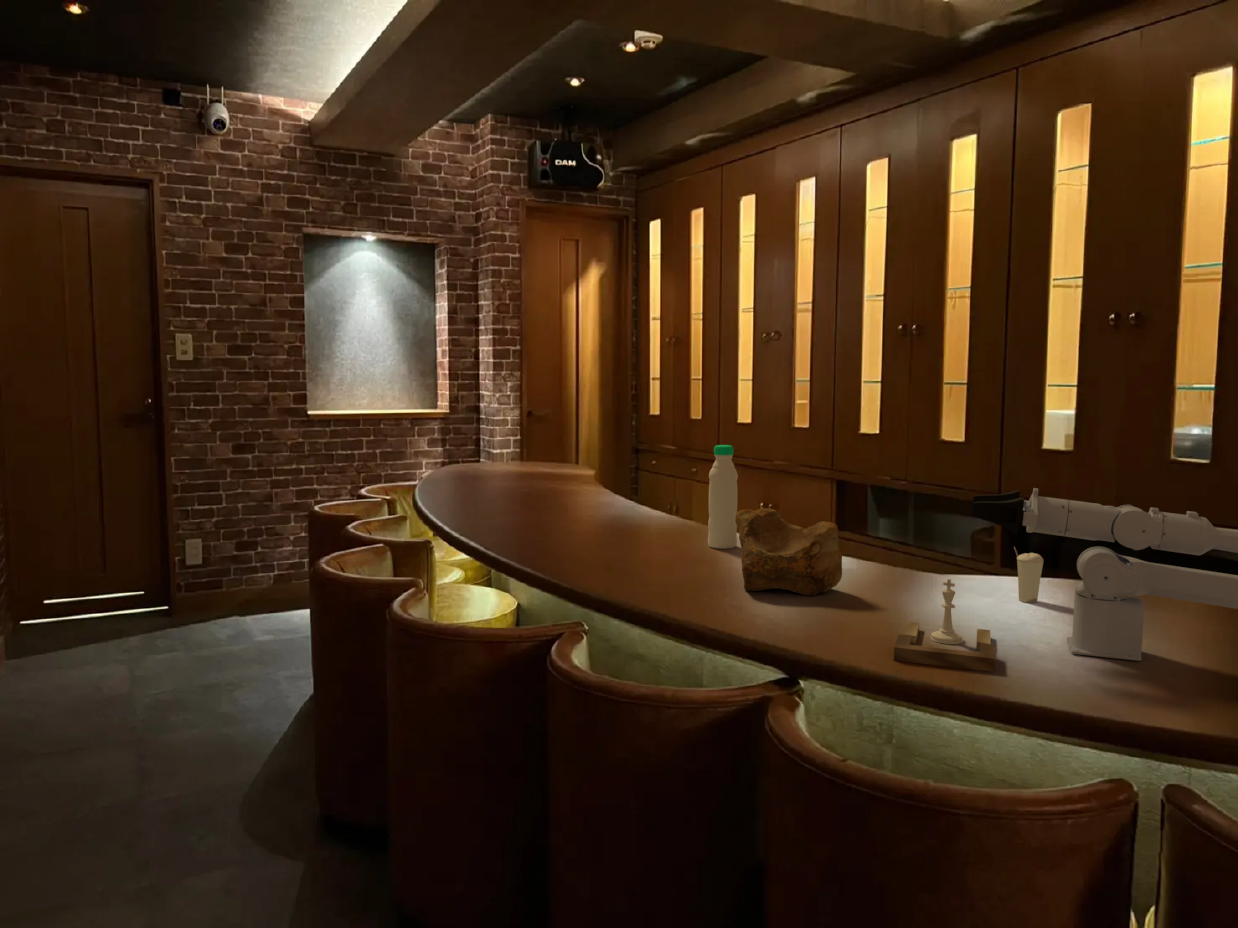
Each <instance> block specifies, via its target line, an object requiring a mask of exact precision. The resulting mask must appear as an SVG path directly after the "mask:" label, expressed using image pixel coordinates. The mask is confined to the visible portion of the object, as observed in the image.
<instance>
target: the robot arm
mask: <svg viewBox="0 0 1238 928" xmlns="http://www.w3.org/2000/svg"><path fill="white" fill-rule="evenodd" d="M1020 495H1021V491H1020V490H1019V489H1017V490H1013V491H1010V492H1006V493H999V494H998V493H997V494H978V495H973V498H972V504H971V515H970V516H972V517H974V518H977V519H979V520H983V521H986V522H989V523H993V524H995V525H998V526H1000V527H1002V528H1005V529H1006V530H1007V531H1009V532H1011V533H1012V534H1014V535H1018V533H1019V527H1020V525H1022V526H1023V527H1026V528H1025V529H1026V530H1025V531H1026V532H1027V533H1030V534H1032V533H1037V534H1045V535H1051V536H1058V537H1060V536H1061V537H1067V538H1073V539H1074V538H1075V539H1081V540H1087V541H1088V540H1089V541H1103V542H1104V541H1105V542H1110V543H1116V541H1117V542H1118V543H1119V544H1120V545H1121V546H1123V547H1126V548H1130V549H1132V550H1133V551H1139V550H1144V549H1146V548H1149V547H1150V548H1151V549H1152V550H1159V551H1165V552H1172V553H1173V552H1174V553H1179V554H1186V555H1187V554H1188V555H1194V556H1202V555H1204V554H1205V553H1207V552H1209V551H1211V550H1219V551H1224V552H1230V553H1236V554H1238V529H1235V528H1234V529H1233V528H1225V527H1224V528H1223V527H1215V526H1214V525H1213V524H1212V522H1210V521H1209V519H1208V518H1206V517H1204V516H1199V513H1197V511H1189V510H1187V511H1186V513H1185V514H1181V513H1175V512H1172V513H1171V512H1165V511H1160V509H1159V508H1158V507H1152V506H1151V507H1149V511H1148V512H1147V511H1144V510H1143V509H1141V508H1139V507H1136V506H1133V505H1132V504H1123V505H1120V506H1117V507H1116V506H1114V505H1102V504H1101V503H1095V502H1094V503H1093V502H1086V501H1079V500H1072V499H1065V498H1056V497H1048V496H1041V495H1039V488H1036V487H1033V490H1032V493H1031V495H1030V497H1029V500H1026V499H1025V498H1024V497H1023V496H1022V497H1021V496H1020ZM1076 569H1077V573H1078V575H1079V576H1080V578H1081V579H1082V580H1081V582H1080V583H1079V584H1078V586H1076V587H1074V600H1073V617H1072V619H1073V621H1072V635H1071V636H1067V638H1066V642H1067V644H1068V646H1069V647H1068V648H1069V650H1070V653H1071V654H1074V655H1080V656H1081V655H1082V656H1090V657H1091V656H1092V657H1098V658H1099V657H1100V658H1111V659H1118V660H1126V661H1127V660H1129V661H1130V660H1131V661H1137V662H1141V661H1142V649H1143V648H1142V647H1143V634H1144V633H1143V632H1144V631H1143V630H1144V603H1143V600H1142V598H1139V597H1141V596H1144V595H1146V596H1147V595H1148V596H1154V597H1155V596H1156V597H1158V598H1159V597H1161V598H1166V599H1172V600H1173V599H1174V600H1180V601H1186V602H1191V603H1198V604H1205V605H1211V606H1218V607H1224V608H1231V609H1235V610H1238V575H1236V574H1230V573H1223V572H1217V571H1211V570H1204V569H1203V570H1202V569H1197V568H1189V567H1183V566H1176V565H1170V564H1163V563H1157V562H1156V563H1155V562H1149V561H1145V560H1141V559H1139V558H1136V557H1131V556H1128V555H1127V556H1126V555H1121V554H1118V553H1116V552H1115V551H1114V550H1112V549H1110V548H1109V547H1108V548H1107V547H1105V546H1092V547H1089V548H1086V549H1085V550H1084V551H1082V552H1081V553H1080V555H1079V556H1078V558H1077V561H1076Z"/></svg>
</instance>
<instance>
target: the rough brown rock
mask: <svg viewBox="0 0 1238 928" xmlns="http://www.w3.org/2000/svg"><path fill="white" fill-rule="evenodd" d="M735 522H736V525H737V530H738V540H739V542H740V547H741V554H740V555H741V572H742V578H743V588H744V590H745V591H747V592H759V591H764V590H770V589H780V590H785V591H786V590H788V591H791V592H794V593H796V594H801V595H805V596H815V595H817V594H821V593H825V592H827V591H829V590H831V589H833V588H835V587H837V585H838V584H839V583H840V581H841V580H842V577H843V554H842V552H840V539H839V528H838V525H837V524H836V523H834V522H831V521H823V520H822V521H819V522H817V523H815V524H814V525H811V526H808V527H807V528H803V527H801V526H799V525H794V524H792V523H788V522H787V521H786V520H785V519H784V518H783V517H782V515H781V514H780V513H779V511H778V510H776V509H773V508H758V509H757V510H753V509H752V508H751V509H745V508H744V509H741V510H738V511H737V513H736V518H735Z"/></svg>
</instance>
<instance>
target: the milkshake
mask: <svg viewBox="0 0 1238 928" xmlns="http://www.w3.org/2000/svg"><path fill="white" fill-rule="evenodd" d="M1013 549H1014V551H1015V552H1014V553H1015V555H1016V565H1017V576H1018V577H1017V578H1018V579H1017V581H1018V589H1017V590H1018V601H1020V602H1021V603H1027V604H1028V603H1029V604H1036V603H1038V598H1039V590H1040V584H1041V577H1042V571H1043V566H1044V558H1043V557H1042V556H1041V555H1040V554H1038V553H1034V552H1029V553H1026V552H1024V553H1021V554H1018V551H1017V549H1016V547H1015V546H1013Z"/></svg>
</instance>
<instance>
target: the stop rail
mask: <svg viewBox="0 0 1238 928" xmlns="http://www.w3.org/2000/svg"><path fill="white" fill-rule="evenodd" d="M911 638H912V636H908V635H903V634H897V637H896V640H895V643H894V648H893V661H898V662H907V663H915V664H921V665H922V664H923V665H931V666H932V665H934V666H942V667H947V668H958V669H965V670H966V669H967V670H975V671H983V672H989V673H990V672H993V673H995V669H996V646H995V644H992V643H991V644H982V643H980V650H979V652H974V651H967V650H966V651H964V650H957V649H947V648H937V647H929V646H921V645H914V644H913V645H912V643H911Z"/></svg>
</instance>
